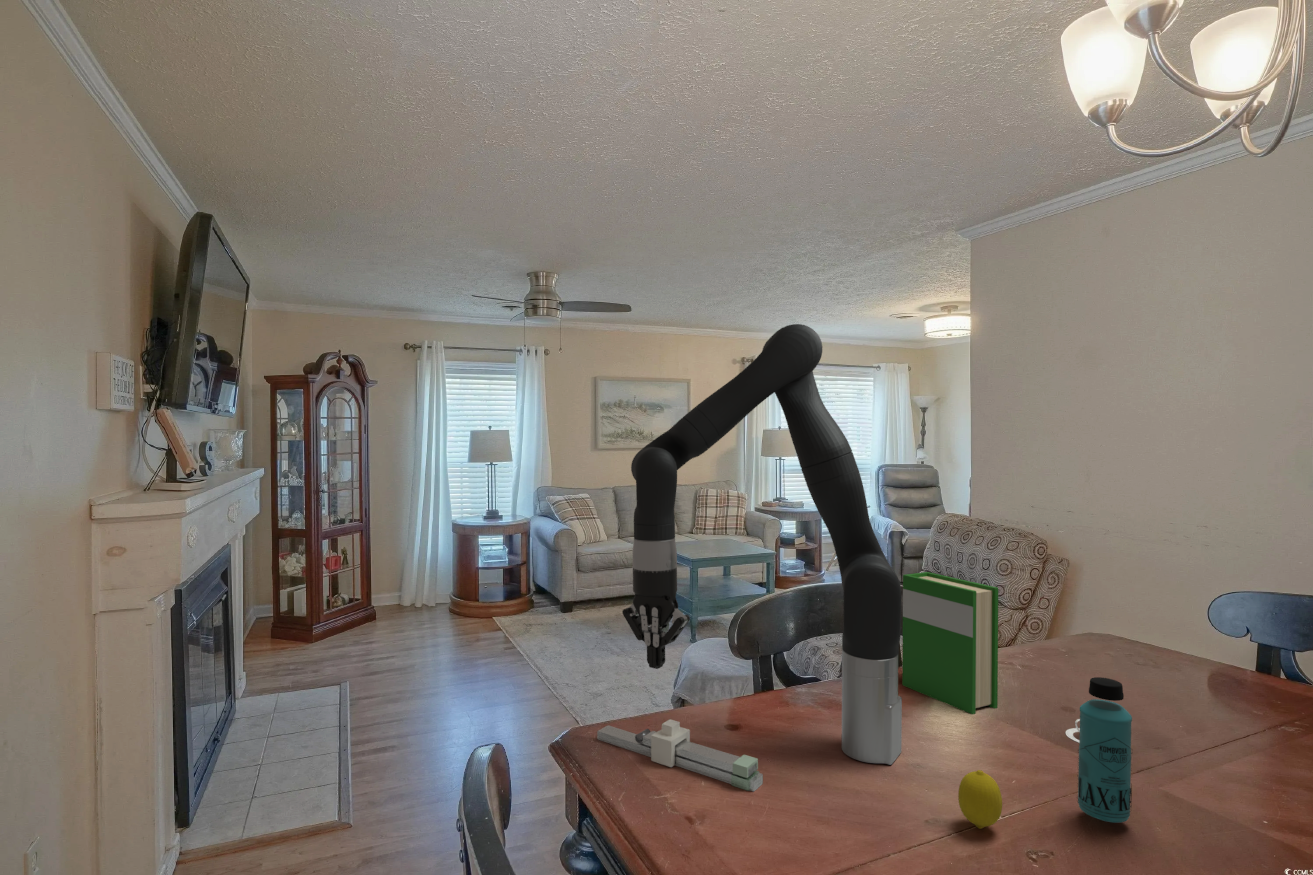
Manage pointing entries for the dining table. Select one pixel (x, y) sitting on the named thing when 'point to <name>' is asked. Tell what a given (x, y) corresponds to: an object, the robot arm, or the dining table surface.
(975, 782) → the lemon
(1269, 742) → the dining table surface
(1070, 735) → the teacup and saucer
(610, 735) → the base
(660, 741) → the lock slider
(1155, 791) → the dining table surface
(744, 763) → the bar
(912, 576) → the hardback book
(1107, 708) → the beverage bottle
